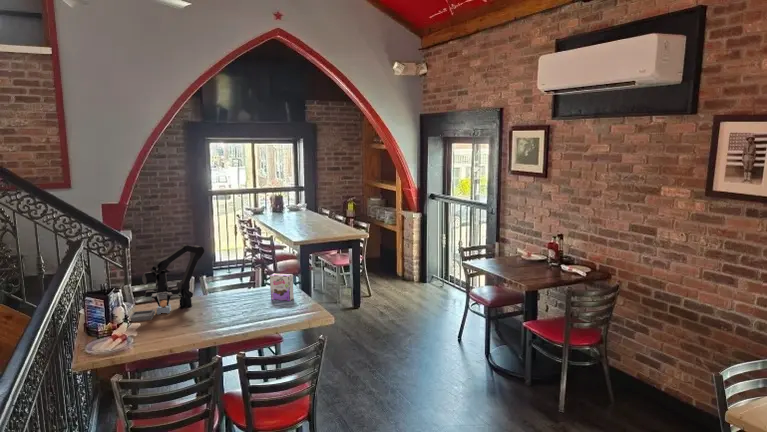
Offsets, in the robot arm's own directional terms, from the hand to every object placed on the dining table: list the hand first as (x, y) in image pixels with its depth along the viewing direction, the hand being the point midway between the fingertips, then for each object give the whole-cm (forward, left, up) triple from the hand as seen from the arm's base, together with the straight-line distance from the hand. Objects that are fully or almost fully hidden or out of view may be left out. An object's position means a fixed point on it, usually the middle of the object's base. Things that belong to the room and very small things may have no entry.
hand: (163, 305), depth 320 cm
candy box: (-71, -2, -4) cm, 71 cm away
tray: (+11, +7, -4) cm, 14 cm away
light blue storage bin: (0, 0, -4) cm, 4 cm away
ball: (0, 0, +1) cm, 1 cm away
